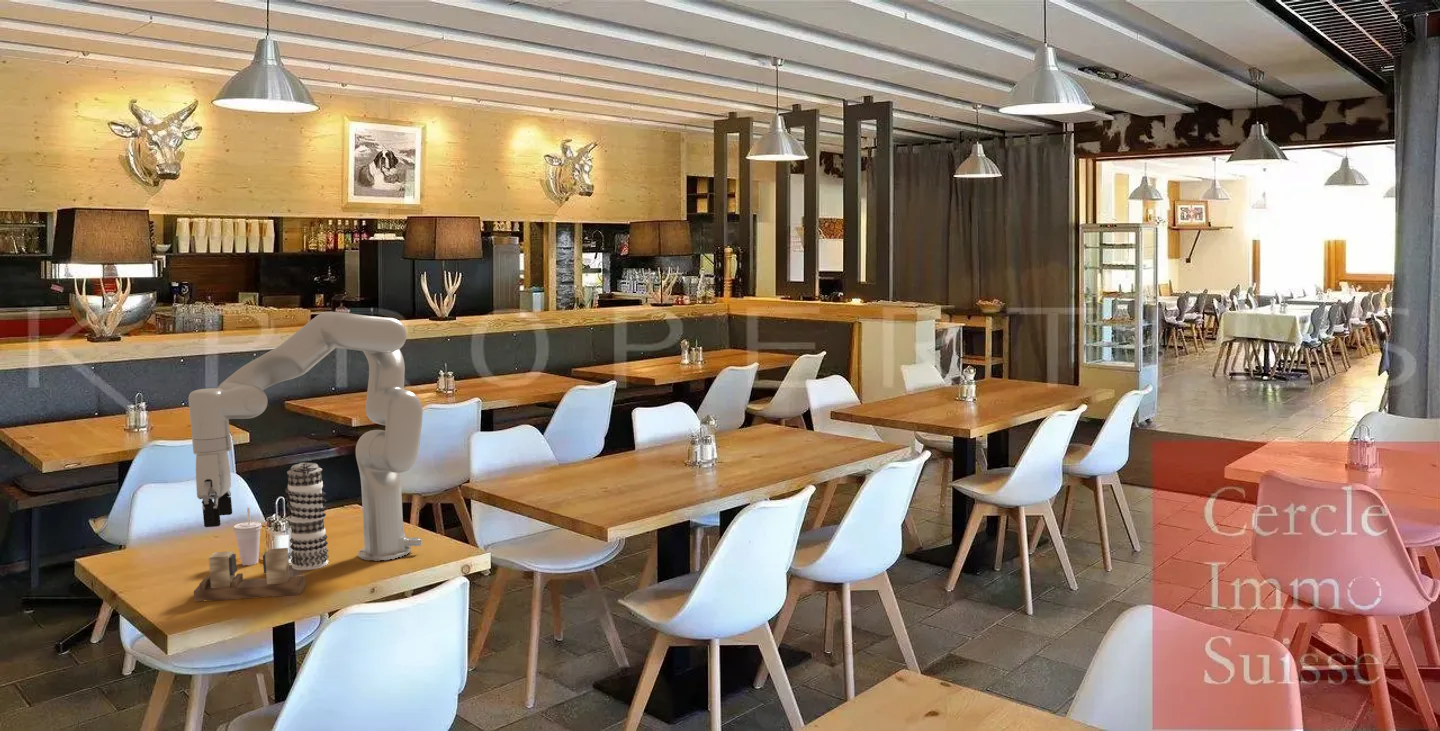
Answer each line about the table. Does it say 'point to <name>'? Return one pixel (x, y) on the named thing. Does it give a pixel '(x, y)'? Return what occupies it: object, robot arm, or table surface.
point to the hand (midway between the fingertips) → (218, 520)
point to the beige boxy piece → (222, 569)
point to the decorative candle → (307, 516)
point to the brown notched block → (257, 581)
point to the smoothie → (248, 540)
